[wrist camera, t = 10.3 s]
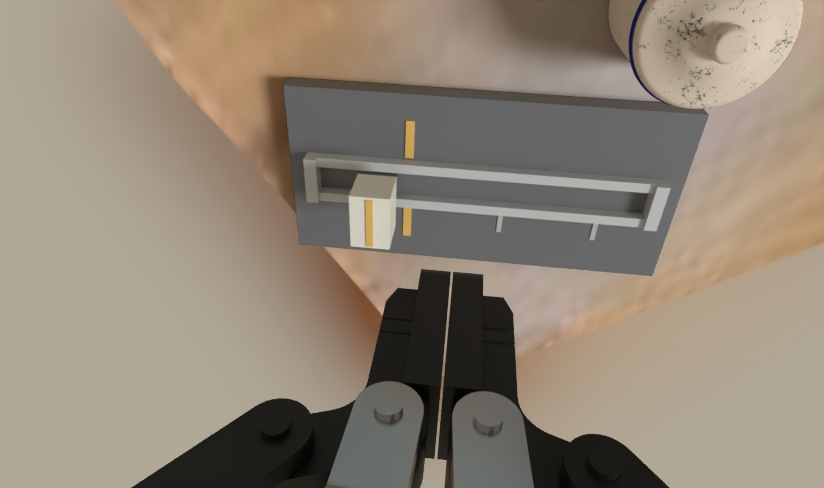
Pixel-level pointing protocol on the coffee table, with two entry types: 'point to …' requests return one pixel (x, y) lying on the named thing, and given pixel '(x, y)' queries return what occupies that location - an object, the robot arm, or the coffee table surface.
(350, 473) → the robot arm
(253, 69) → the coffee table surface
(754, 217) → the coffee table surface
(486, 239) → the console
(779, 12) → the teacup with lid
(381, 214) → the fader
